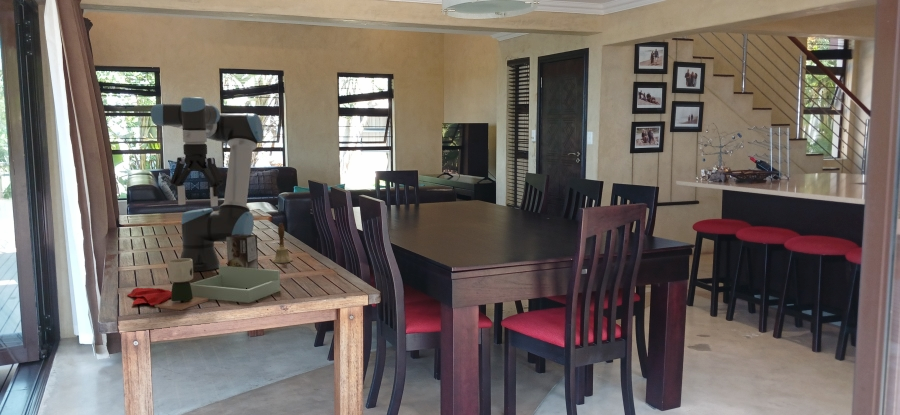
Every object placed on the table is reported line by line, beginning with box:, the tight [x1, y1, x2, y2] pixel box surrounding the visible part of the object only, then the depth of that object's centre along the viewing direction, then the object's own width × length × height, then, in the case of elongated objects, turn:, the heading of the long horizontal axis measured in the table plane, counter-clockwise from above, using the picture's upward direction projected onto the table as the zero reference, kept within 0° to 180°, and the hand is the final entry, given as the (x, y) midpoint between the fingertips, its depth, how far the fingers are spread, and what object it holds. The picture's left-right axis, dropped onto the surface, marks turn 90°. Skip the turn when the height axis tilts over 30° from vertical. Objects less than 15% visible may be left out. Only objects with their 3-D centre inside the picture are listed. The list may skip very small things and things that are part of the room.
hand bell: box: [271, 222, 294, 264], centre depth 278 cm, size 8×8×16 cm
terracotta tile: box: [154, 297, 209, 311], centre depth 210 cm, size 10×12×1 cm
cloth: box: [126, 287, 172, 306], centre depth 216 cm, size 26×14×2 cm, turn 29°
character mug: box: [167, 257, 194, 302], centre depth 209 cm, size 11×7×13 cm, turn 30°
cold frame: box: [189, 265, 281, 304], centre depth 222 cm, size 24×17×7 cm
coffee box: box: [226, 234, 259, 269], centre depth 244 cm, size 9×6×16 cm
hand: (198, 205), depth 231 cm, fingers open, 13 cm apart
